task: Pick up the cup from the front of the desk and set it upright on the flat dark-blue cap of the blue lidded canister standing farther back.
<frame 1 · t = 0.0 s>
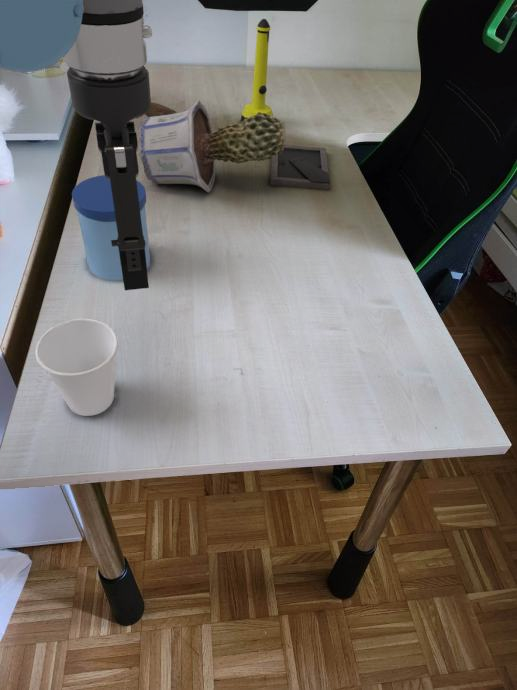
hand: (131, 252, 64), 20 cm above the table, tool pointing down, fingers open, 13 cm apart
cup: (91, 400, 72), on the table
picture frame: (298, 169, 124), on the table
flashlight: (256, 126, 139), on the table
figurine: (155, 128, 134), on the table
potted plant: (212, 186, 115), on the table
blue lidded canister: (119, 262, 94), on the table
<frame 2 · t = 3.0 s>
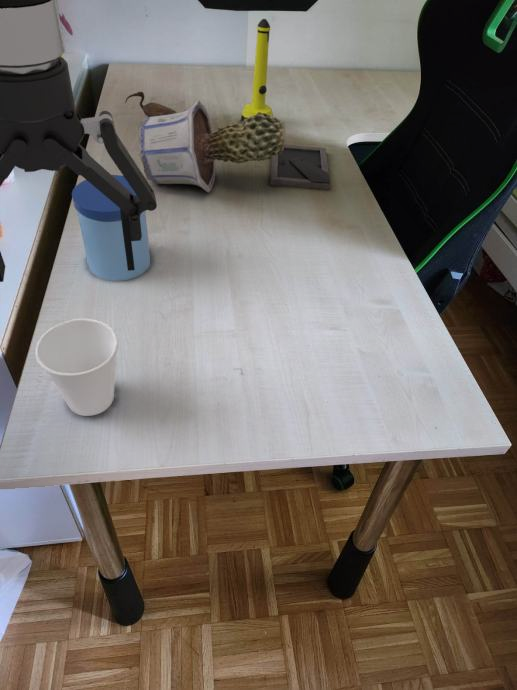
hand: (67, 268, 57), 22 cm above the table, tool pointing down, fingers open, 13 cm apart
nothing on the table moved.
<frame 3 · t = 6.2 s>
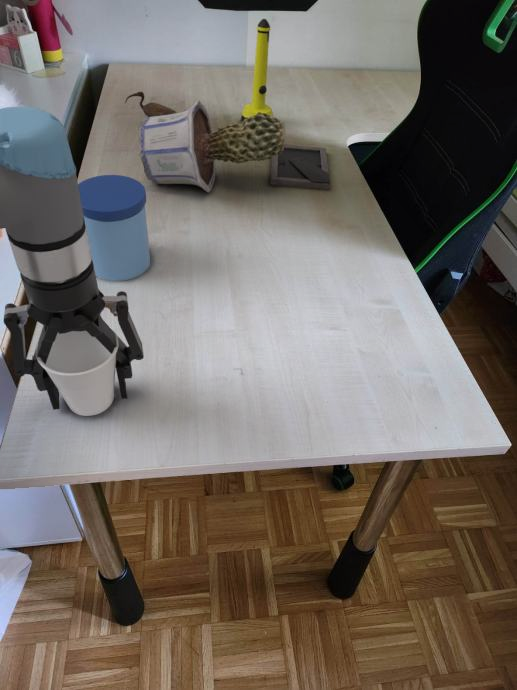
hand: (90, 396, 71), 1 cm above the table, tool pointing down, fingers closed on cup, 8 cm apart
cup: (91, 400, 72), on the table, touching gripper
everything else where it was.
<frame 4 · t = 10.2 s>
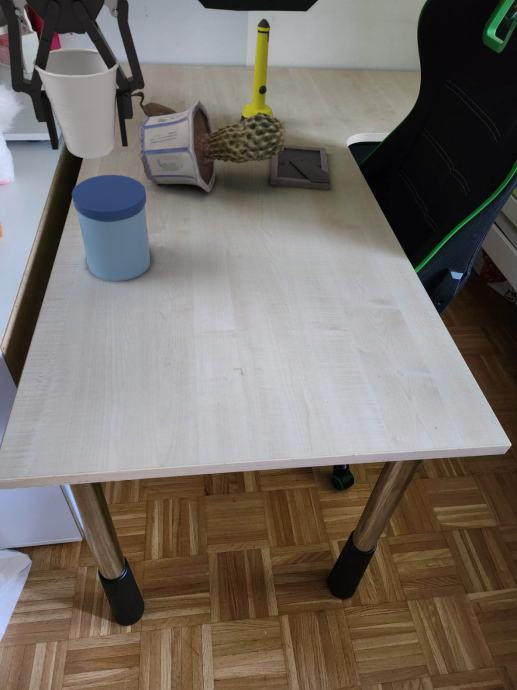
hand: (90, 143, 70), 26 cm above the table, tool pointing down, fingers closed on cup, 8 cm apart
cup: (91, 150, 70), point 25 cm above the table, touching gripper
everything else where it was.
when the fingers open (15 cm above the table, at t = 14.3 s): cup stays where it is, resting on blue lidded canister.
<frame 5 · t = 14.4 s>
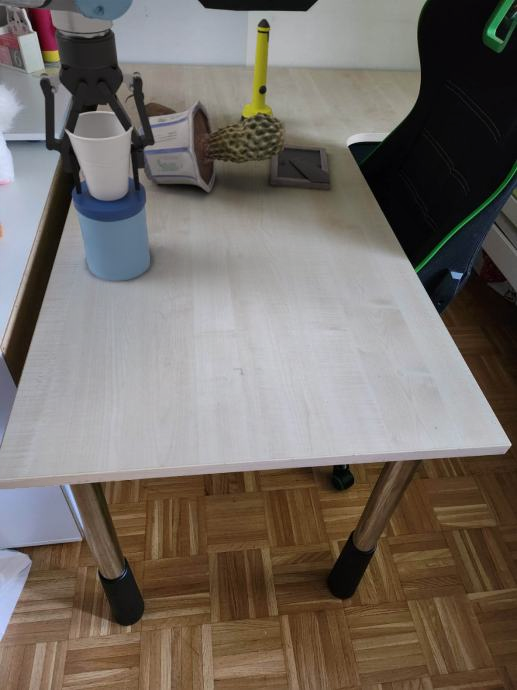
hand: (108, 187, 83), 15 cm above the table, tool pointing down, fingers open, 8 cm apart
cup: (109, 193, 84), point 14 cm above the table, touching blue lidded canister
everything else where it was.
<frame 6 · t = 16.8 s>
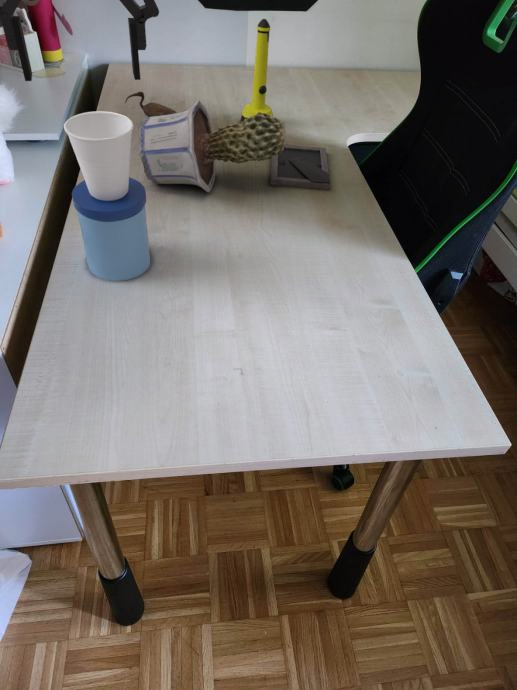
hand: (84, 77, 68), 33 cm above the table, tool pointing down, fingers open, 13 cm apart
nothing on the table moved.
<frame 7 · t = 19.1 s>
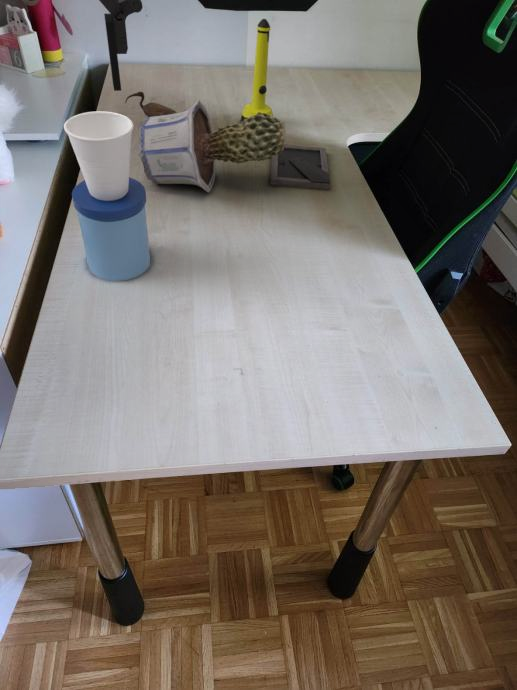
hand: (51, 87, 55), 37 cm above the table, tool pointing down, fingers open, 13 cm apart
nothing on the table moved.
at the end: cup 0.0 cm off-centre on the blue lidded canister, point 13.8 cm above the blue lidded canister's base; cup tilted 0°; the gripper is holding nothing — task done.
